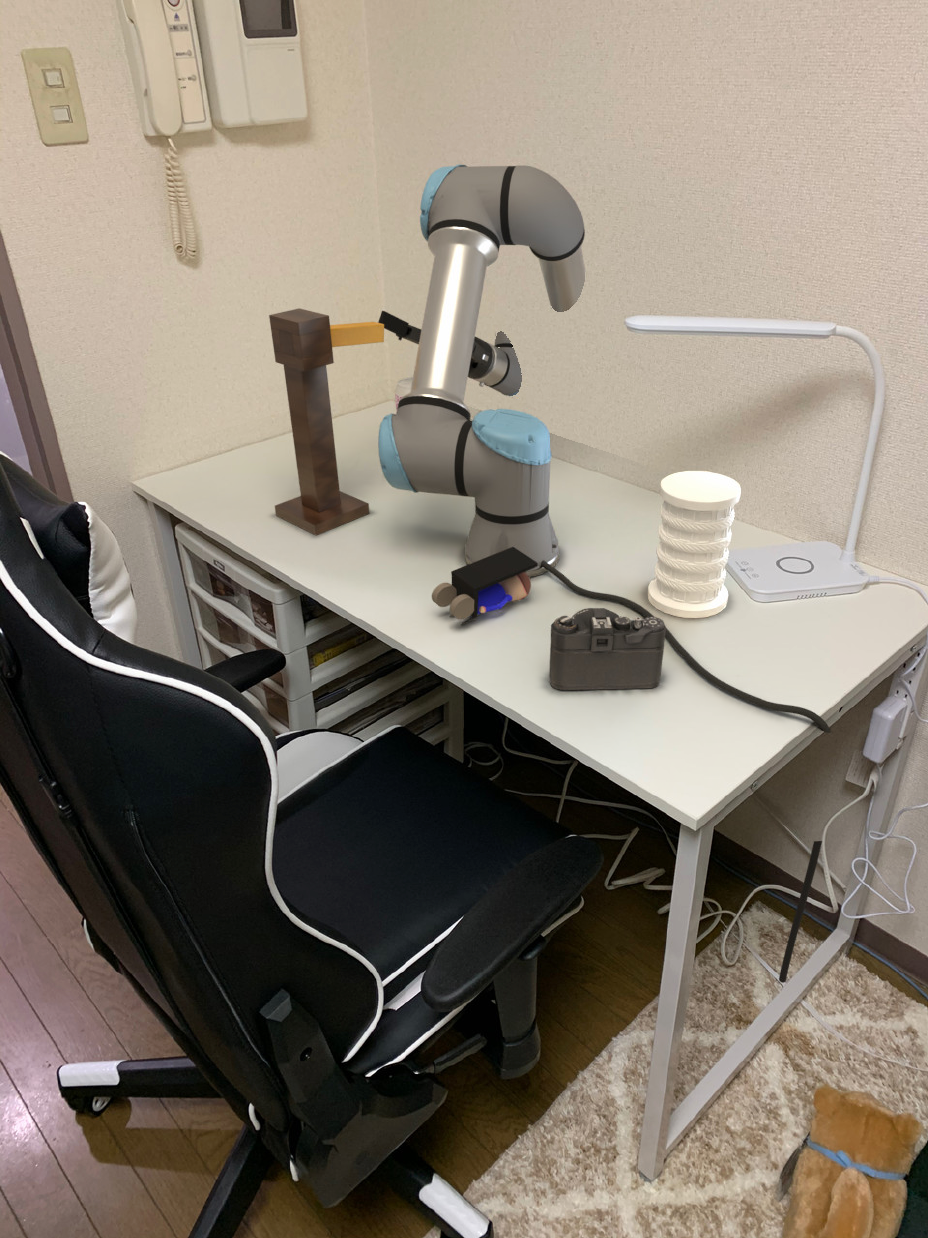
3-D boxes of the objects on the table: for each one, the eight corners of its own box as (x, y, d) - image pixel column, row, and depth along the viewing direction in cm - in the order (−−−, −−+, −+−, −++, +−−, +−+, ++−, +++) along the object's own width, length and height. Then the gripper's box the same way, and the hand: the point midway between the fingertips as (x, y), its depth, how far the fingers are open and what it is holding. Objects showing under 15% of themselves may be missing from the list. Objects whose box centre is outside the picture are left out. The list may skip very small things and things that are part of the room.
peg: (298, 350, 144) (297, 331, 143) (287, 347, 146) (286, 328, 145) (384, 341, 156) (384, 324, 155) (372, 339, 158) (373, 321, 156)
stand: (316, 535, 155) (289, 328, 136) (275, 515, 162) (246, 316, 144) (369, 513, 162) (351, 313, 144) (328, 495, 169) (306, 302, 151)
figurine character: (460, 644, 127) (542, 600, 134) (454, 600, 123) (538, 557, 129) (434, 624, 132) (514, 583, 138) (427, 581, 128) (510, 541, 134)
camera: (646, 644, 124) (652, 581, 118) (663, 691, 114) (671, 625, 109) (542, 648, 123) (544, 585, 118) (551, 696, 114) (554, 629, 109)
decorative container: (736, 617, 129) (753, 502, 119) (655, 619, 129) (666, 504, 120) (716, 578, 139) (731, 468, 129) (641, 579, 139) (651, 470, 129)
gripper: (519, 392, 169) (447, 357, 153) (429, 367, 185) (355, 332, 168) (533, 353, 168) (461, 313, 152) (441, 331, 183) (367, 293, 167)
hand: (405, 323), depth 160 cm, fingers open, 13 cm apart
